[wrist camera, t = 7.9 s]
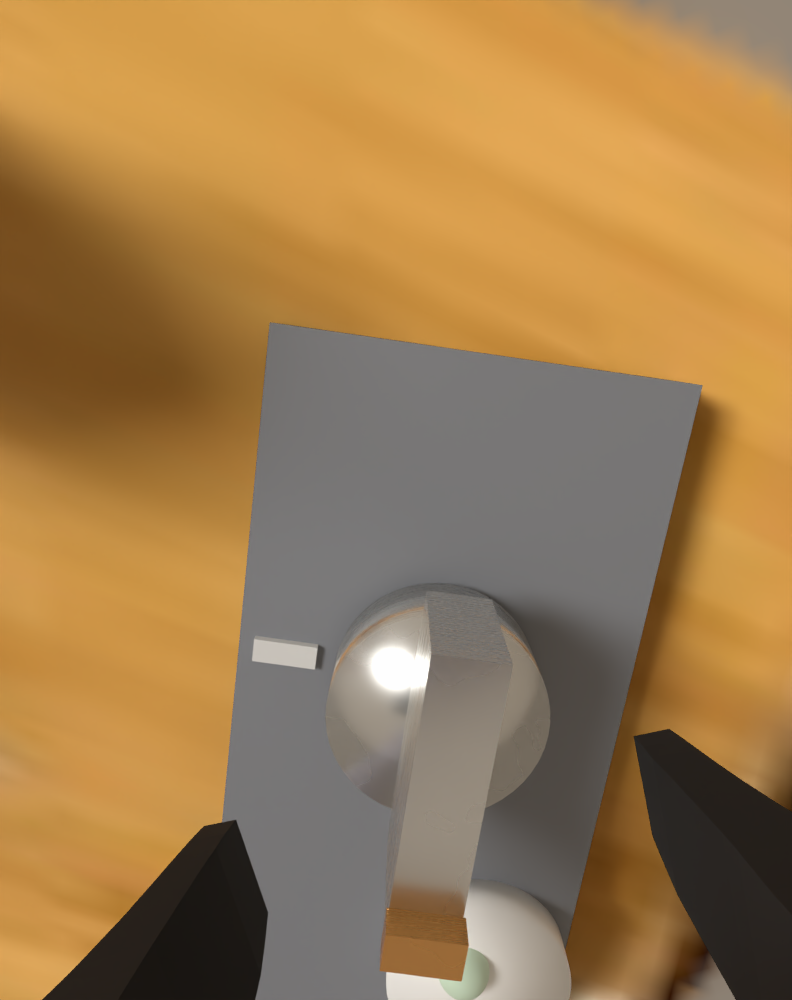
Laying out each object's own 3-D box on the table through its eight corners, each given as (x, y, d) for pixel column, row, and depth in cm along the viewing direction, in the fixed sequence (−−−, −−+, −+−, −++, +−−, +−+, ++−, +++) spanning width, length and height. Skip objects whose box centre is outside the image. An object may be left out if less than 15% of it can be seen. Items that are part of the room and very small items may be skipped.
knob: (350, 550, 16) (321, 655, 11) (555, 578, 16) (629, 698, 11) (321, 767, 18) (284, 958, 12) (511, 793, 18) (556, 993, 12)
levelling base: (529, 1011, 22) (550, 1124, 18) (217, 970, 21) (185, 1077, 18) (677, 381, 17) (737, 390, 14) (281, 324, 17) (253, 320, 14)
